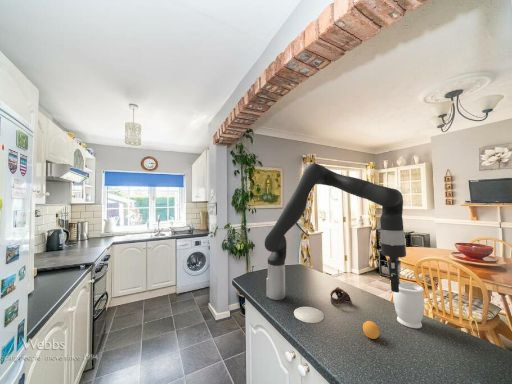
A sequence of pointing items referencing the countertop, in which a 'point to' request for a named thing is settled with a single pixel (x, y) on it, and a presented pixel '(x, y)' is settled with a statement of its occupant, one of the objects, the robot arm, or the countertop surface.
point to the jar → (409, 304)
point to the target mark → (308, 314)
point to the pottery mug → (340, 296)
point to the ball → (371, 329)
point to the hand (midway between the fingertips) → (395, 287)
